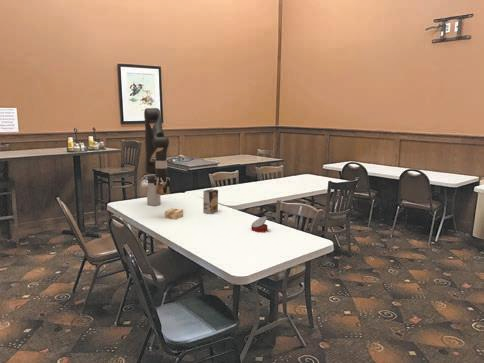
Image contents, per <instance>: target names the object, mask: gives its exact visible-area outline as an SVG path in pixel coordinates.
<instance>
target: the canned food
mask: <svg viewBox="0 0 484 363" xmlns="http://www.w3.org/2000/svg"><path fill="white" fill-rule="evenodd" d="M266 221H267V216H262V217H259V218H258V219H256V220H254V221H253V222H252V223H251V225H250V226H251V227H250V228H251V231H252V232H254V231H255V232H256V233H265V231H266V232H267V231H268V224H266ZM255 232H254V233H255Z"/></svg>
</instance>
